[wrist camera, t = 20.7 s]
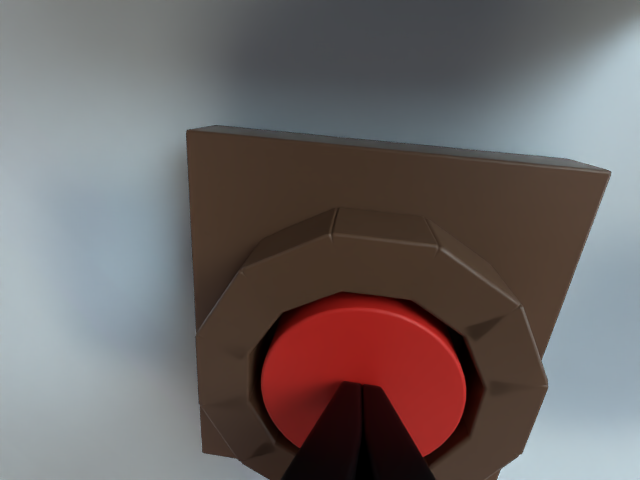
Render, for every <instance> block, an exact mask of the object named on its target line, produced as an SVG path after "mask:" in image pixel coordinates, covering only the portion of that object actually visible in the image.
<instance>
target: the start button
mask: <svg viewBox="0 0 640 480" xmlns="http://www.w3.org/2000/svg"><path fill="white" fill-rule="evenodd" d="M343 381H348V382H355V383H360V384H361V387H362V385H363V384H369V385H376V386H380V387H381V388H382V389H383V390H384V392H385V394H386V395H387V397H388V399H389V400H390V402H391V404H392V405H393V407H394V409H395V411H396V412H397V414H398V416H399V417H400V419H401V421H402V422H403V424H404V426H405V428H406V429H407V431H408V433H409V434H410V436H411V438H412V439H413V441H414V443H415V445H416V446H417V448H418V450H419V451H420V453H421V455H422V456H423V457H424V456H426V455H428V454H430V453H431V452H433V451H434V450H436V449H437V448H438V447H440V446H441V445H442V444H443V443H444V442H445V441H446V440H447V439H448V438H449V437H450V435H451V434H452V433H453V432H454V430H455V429H456V427H457V425H458V424H459V422H460V419H461V417H462V414H463V411H464V407H465V402H466V383H465V377H464V374H463V370H462V367H461V364H460V362H459V359H458V356H457V354H456V351H455V348H454V345H453V343H452V340H451V337H450V334H449V332H448V329H447V326H446V324H445V323H443V322H442V321H441V320H439V319H438V318H436V317H435V316H433V315H432V314H430V313H429V312H428V311H426V310H425V309H423V308H422V307H420V306H419V305H417V304H416V303H415V302H413V301H412V300H406V299H398V298H390V297H382V296H374V295H367V294H359V293H351V292H343V291H341V292H338V293H336V294H333V295H330V296H327V297H324V298H322V299H319V300H316V301H313V302H311V303H308V304H305V305H302V306H299V307H297V308H294V309H291V310H288V311H285V312H283V314H282V316H281V318H280V321H279V324H278V326H277V329H276V331H275V334H274V337H273V339H272V342H271V344H270V347H269V349H268V352H267V355H266V357H265V360H264V364H263V367H262V373H261V391H262V396H263V401H264V404H265V407H266V409H267V412H268V414H269V416H270V417H271V419H272V421H273V422H274V424H275V425H276V426H277V428H278V429H279V430H280V431H281V432H282V434H283V435H284V436H285V437H286V438H287V439H289V440H290V441H291V442H292V443H293V444H294V445H296V446H297V447H299V448H300V447H301V446H302V444H303V443H304V441H305V439H306V438H307V436H308V435H309V433H310V431H311V430H312V428H313V427H314V425H315V424H316V422H317V420H318V419H319V417H320V416H321V414H322V412H323V411H324V409H325V408H326V406H327V405H328V403H329V401H330V400H331V398H332V397H333V395H334V393H335V392H336V390H337V389H338V387H339V386H340V384H341V383H342V382H343Z"/></svg>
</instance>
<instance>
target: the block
mask: <svg viewBox="0 0 640 480" xmlns="http://www.w3.org/2000/svg"><path fill="white" fill-rule="evenodd" d="M186 141H187V161H188V181H189V200H190V220H191V240H192V260H193V280H194V300H195V319H196V336H195V338H196V358H197V377H198V396H199V404H200V419H201V438H202V452H203V453H206V454H212V455H218V456H224V457H230V458H236V459H238V460H239V461H241V462H242V464H244V465H245V466H247V467H249V468H250V469H252V470H254V471H255V472H257V473H259V474H261V475H262V476H264V477H266V478H267V479H269V480H280V479H281V477H282V476H283V474H284V473H285V471H286V469H287V468H288V466H289V465H290V463H291V462H292V460H293V458H294V457H295V455H296V454H297V452H298V450H299V449H300V448H299V447H297V446H296V445H294V444H293V443H292V442H291V441H290V440H289V439H287V438H286V437H285V436H284V435H283V434H282V432H281V431H280V430H279V429H278V428H277V426H276V425H275V424H274V422H273V421H272V419H271V417H270V416H269V414H268V412H267V409H266V407H265V404H264V401H263V396H262V391H261V373H262V367H263V364H264V360H265V357H266V355H267V352H268V349H269V347H270V344H271V342H272V339H273V337H274V334H275V331H276V329H277V326H278V324H279V321H280V318H281V316H282V314H283V312H285V311H288V310H291V309H294V308H297V307H299V306H302V305H305V304H308V303H311V302H313V301H316V300H319V299H322V298H324V297H327V296H330V295H333V294H336V293H338V292H341V291H343V292H351V293H359V294H367V295H374V296H382V297H390V298H398V299H406V300H412V301H413V302H415V303H416V304H417V305H419V306H420V307H422V308H423V309H425V310H426V311H428V312H429V313H430V314H432V315H433V316H435V317H436V318H438V319H439V320H441V321H442V322H443V323H445V324H446V326H447V329H448V332H449V334H450V337H451V340H452V343H453V345H454V348H455V351H456V354H457V356H458V359H459V362H460V364H461V367H462V370H463V374H464V377H465V383H466V402H465V407H464V411H463V414H462V417H461V419H460V422H459V424H458V425H457V427H456V429H455V430H454V432H453V433H452V434H451V435H450V437H449V438H448V439H447V440H446V441H445V442H444V443H443V444H442V445H441V446H440V447H438V448H437V449H436V450H434V451H433V452H431V453H430V454H428V455H426V456H424V457H423V458H424V460H425V462H426V463H427V465H428V467H429V468H430V470H431V472H432V473H433V475H434V477H435V479H436V480H497V478H498V475H499V473H500V470H501V468H503V467H504V466H506V465H507V464H509V463H510V462H511V461H513V460H514V459H516V458H517V457H518V456H519V455H520V454H522V453H523V450H524V448H525V445H526V443H527V440H528V437H529V435H530V432H531V430H532V427H533V425H534V422H535V420H536V417H537V415H538V412H539V410H540V407H541V405H542V402H543V400H544V397H545V395H546V392H547V389H548V379H547V376H546V373H545V370H544V367H543V364H542V361H541V360H542V358H543V355H544V352H545V350H546V347H547V344H548V342H549V339H550V336H551V334H552V331H553V328H554V326H555V323H556V320H557V318H558V315H559V312H560V310H561V307H562V304H563V302H564V299H565V296H566V294H567V291H568V288H569V286H570V283H571V280H572V278H573V275H574V272H575V269H576V267H577V264H578V261H579V259H580V256H581V253H582V251H583V248H584V245H585V243H586V240H587V237H588V235H589V232H590V229H591V227H592V224H593V221H594V219H595V216H596V213H597V211H598V208H599V205H600V203H601V200H602V197H603V195H604V192H605V189H606V187H607V184H608V181H609V179H610V176H611V172H610V171H609V170H606V169H602V168H599V167H595V166H592V165H588V164H585V163H581V162H578V161H574V160H570V159H564V158H554V157H543V156H533V155H522V154H512V153H501V152H491V151H480V150H470V149H459V148H449V147H439V146H428V145H418V144H407V143H397V142H386V141H376V140H365V139H355V138H345V137H334V136H324V135H313V134H303V133H292V132H282V131H271V130H261V129H251V128H240V127H230V126H219V125H214V126H207V127H201V128H195V129H189V130H187V131H186Z"/></svg>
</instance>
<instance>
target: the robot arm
mask: <svg viewBox="0 0 640 480" xmlns="http://www.w3.org/2000/svg"><path fill="white" fill-rule="evenodd" d="M280 480H436V479H435V477H434V475H433V473H432V472H431V470H430V468H429V467H428V465H427V463H426V462H425V460H424V458H423V456H422V455H421V453H420V451H419V450H418V448H417V446H416V445H415V443H414V441H413V439H412V438H411V436H410V434H409V433H408V431H407V429H406V428H405V426H404V424H403V422H402V421H401V419H400V417H399V416H398V414H397V412H396V411H395V409H394V407H393V405H392V404H391V402H390V400H389V399H388V397H387V395H386V394H385V392H384V390H383V389H382V388H381V387H380V386H376V385H369V384H363V385H362V387H361V384H360V383H355V382H348V381H343V382H342V383H341V384H340V386H339V387H338V389H337V390H336V392H335V393H334V395H333V397H332V398H331V400H330V401H329V403H328V405H327V406H326V408H325V409H324V411H323V412H322V414H321V416H320V417H319V419H318V420H317V422H316V424H315V425H314V427H313V428H312V430H311V431H310V433H309V435H308V436H307V438H306V439H305V441H304V443H303V444H302V446H301V447H300V449H299V450H298V452H297V454H296V455H295V457H294V458H293V460H292V462H291V463H290V465H289V466H288V468H287V469H286V471H285V473H284V474H283V476H282V477H281V479H280Z"/></svg>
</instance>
